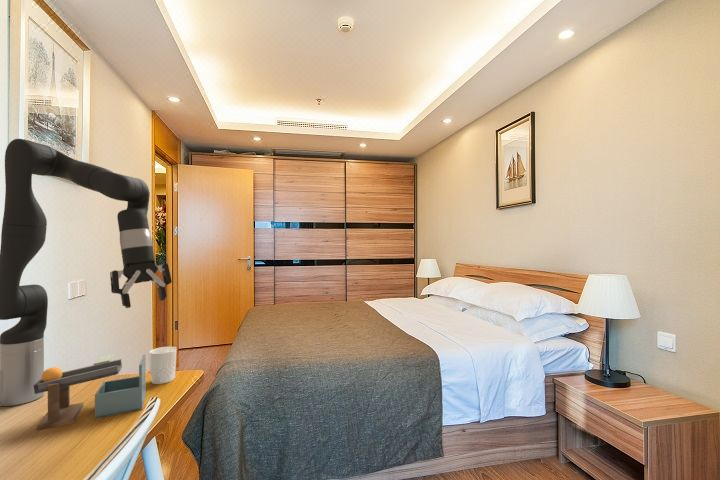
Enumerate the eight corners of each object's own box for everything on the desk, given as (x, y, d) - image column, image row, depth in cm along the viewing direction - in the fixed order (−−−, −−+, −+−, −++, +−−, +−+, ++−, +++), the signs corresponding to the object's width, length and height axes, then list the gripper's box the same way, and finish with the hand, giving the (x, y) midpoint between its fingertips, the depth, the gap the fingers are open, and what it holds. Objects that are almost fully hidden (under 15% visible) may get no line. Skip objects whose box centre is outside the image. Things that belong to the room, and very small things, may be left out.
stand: (36, 430, 83) (36, 387, 83) (50, 412, 92) (50, 374, 92) (73, 423, 86) (73, 382, 86) (83, 406, 95) (83, 369, 95)
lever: (34, 394, 84) (33, 383, 84) (53, 376, 96) (52, 366, 96) (118, 374, 92) (116, 364, 92) (125, 359, 104) (124, 351, 104)
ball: (39, 388, 86) (37, 372, 85) (45, 382, 89) (43, 367, 89) (60, 383, 87) (58, 368, 87) (65, 378, 91) (63, 363, 91)
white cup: (164, 385, 109) (164, 354, 109) (143, 384, 110) (143, 353, 110) (182, 376, 116) (181, 346, 116) (162, 375, 118) (161, 345, 118)
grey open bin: (95, 418, 88) (94, 371, 88) (103, 403, 97) (103, 360, 97) (141, 409, 93) (141, 364, 93) (145, 395, 102) (145, 354, 102)
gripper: (159, 245, 104) (167, 298, 104) (102, 251, 93) (111, 310, 93) (169, 242, 99) (177, 298, 99) (110, 247, 88) (119, 310, 88)
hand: (145, 303), depth 96 cm, fingers open, 8 cm apart
